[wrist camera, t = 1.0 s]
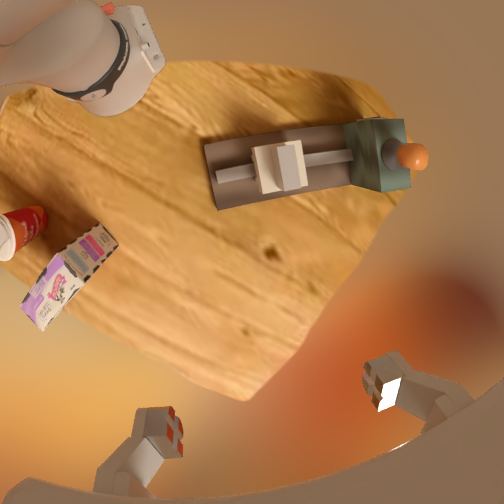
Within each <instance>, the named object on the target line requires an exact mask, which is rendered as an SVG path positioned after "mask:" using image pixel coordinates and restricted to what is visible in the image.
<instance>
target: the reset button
mask: <svg viewBox="0 0 504 504" xmlns="http://www.w3.org/2000/svg"><path fill="white" fill-rule="evenodd" d="M428 159H429V157H428V152H427V149H426V148H425V147H424V146H423V145H422V144H416V143H403V144H401V145H400V146H399V147H398V150H397V160H398V162H399V164H400V165H401V166H402V167H404V168H408V169H415V170H423V169H424V168H425V167H426V166H427V164H428Z"/></svg>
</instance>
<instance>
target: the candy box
mask: <svg viewBox="0 0 504 504" xmlns="http://www.w3.org/2000/svg"><path fill="white" fill-rule="evenodd" d="M118 246H119V244H118V243H117V242H116V241H115V240H114V239H113V238H112V237H111V235H110V234H109V233H108V232H107V231H106V229H105V228H104V227H103V226H102V225H101V224H100V223H98V224H97V225H95V226H94V227H92V228H91V229H90V230H88V231H87V232H85V233H84V234H83V235H81V236H80V237H78V238H77V239H75V240H74V241H72V242H71V243H70V244H68V245H67V246H66V247H64V248H63V249H61V250H60V251H59V252H57V253H56V254H55V256H54V257H53V258H52V259H51V261H50V262H49V263H48V265H47V266H46V268H45V269H44V270H43V272H42V273H41V275H40V276H39V277H38V279H37V280H36V282H35V283H34V285H33V286H32V288H31V289H30V291H29V292H28V294H27V295H26V297H25V298H24V300H23V302H22V303H21V305H20V308H21V309H22V310H23V311H24V312H25V313H26V315H27V316H28V317H29V318H30V319H31V320H32V321H33V322H34V323H35V324H36V325H37V326H38V327H39V328H40V329H41V330H42V331H44V330H45V329H46V327H47V326H48V325H49V324H50V323H51V321H52V320H53V319H54V318H55V317H56V316H57V315H58V314H59V312H60V311H61V310H62V309H63V308H64V307H65V306H66V304H67V303H68V302H69V301H70V300H71V299H72V298H73V296H74V295H75V294H76V293H77V292H78V291H79V290H80V289H81V287H82V286H83V285H84V284H85V283H86V282H87V281H88V279H89V278H90V277H91V276H92V275H93V274H94V273H95V271H96V270H97V269H98V268H99V267H100V266H101V265H102V263H103V262H104V261H105V260H106V259H107V258H108V257H109V256H110V255H111V254H112V252H113V251H114V250H115V249H116V248H117V247H118Z"/></svg>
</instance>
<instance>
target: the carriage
mask: <svg viewBox="0 0 504 504" xmlns="http://www.w3.org/2000/svg"><path fill="white" fill-rule="evenodd" d="M251 149H252V154H253V155H251V158H252V161H253V162H254V165H255V170H256V175H257V177H255V179H256V183H257V184H258V186H259V191H260V192H261V193H262V194H266V193H271V192H277V191H282V190H283V191H289V190H294V189H299V188H301V187H303V186H308V181H307V175H306V168H305V162H304V156H303V150H302V144H301V140H296V141H289V142H283V143H276V144H270V145H264V146H258V147H253V148H251Z"/></svg>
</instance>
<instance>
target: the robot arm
mask: <svg viewBox="0 0 504 504" xmlns="http://www.w3.org/2000/svg"><path fill="white" fill-rule="evenodd" d="M155 56H158V58H157V59H154V57H155ZM165 64H166V60H165V58H164V55H163V53H162V51H161V48H160V46H159V43H158V41H157V39H156V36H155V34H154V32H153V29H152V27H151V25H150V22H149V20H148V17H147V15H146V13H145V10H144V9H143V8H142V6H137V5H129V6H113V4H112V3H108V4H106V5H105V6H101V7H100V6H99V5H98V4H97V3H95V2H94V1H92V0H0V87H1V86H7V85H12V84H21V83H33V84H38V85H42V86H46V87H49V88H51V89H52V90H54V91H55V92H56V93H58V94H60V95H63V96H65V97H66V98H67V99H68V100H69V101H71V102H75V103H79V104H80V105H82V106H83V107H84V108H85V109H86V110H87V111H89V112H90V113H92V114H95V115H98V116H113V115H117V114H120V113H122V112H124V111H126V110H128V109H129V108H131V107H132V106H134V105H135V104H136V103H137V102H138V101H139V100H140V99H141V98H142V97H143V95H144V94H145V93H146V91H147V89H148V88H149V85H150V83H151V81H152V79H153V78H154V76H155V75H156V74H157V73H159V72H160V71H161V70H162V69H163V67H164V66H165ZM363 368H364V370H365V373H364V374H363V376H362V382H363V387H364V389H365V391H366V393H367V394H368V395H370V396H372V403H373V404H374V406H375V408H376V409H377V410H378V411H380V410H383V409H385V408H388V407H390V406H393V405H395V406H397V407H399V408H401V409H403V410H404V411H406V412H408V413H410V414H412V415H414V416H416V417H418V418H420V419H422V420H424V421H426V422H425V424H424V426H423V428H422V431H421V435H419V436H418V437H416V438H414V439H412V440H410V441H408V442H406V443H404V444H402V445H401V446H398V447H396V448H394V449H392V450H390V451H387V452H385V453H383V454H381V455H378V456H376V457H374V458H371V459H369V460H366V461H364V462H361V463H359V464H356V465H354V466H351V467H349V468H345V469H343V470H340V471H337V472H334V473H331V474H327V475H325V476H321V477H318V478H314V479H311V480H307V481H303V482H300V483H295V484H291V485H287V486H283V487H278V488H273V489H268V490H263V491H257V492H251V493H244V494H237V495H228V496H218V497H205V498H181V499H165V498H163V499H162V498H156V497H155V495H154V494H152V493H151V492H150V491H149V490H147V489H146V486H147V485H148V484H149V482H150V481H151V479H152V478H153V476H154V475H155V473H156V472H157V470H158V469H159V467H160V466H161V464H162V463H163V461H164V459H168V458H181V457H183V444H182V443H181V441H180V440H181V439H182V438H183V427H182V423H181V421H180V419H179V418H178V417H177V416H175V410H174V409H173V407H171V406H168V407H150V408H138V409H137V411H136V414H135V419H134V425H133V430H132V435H131V437H128V439H126V440H125V441H124V442H123V443H122V444H121V445H120V446H119V447H118V448H117V449H116V451H115V452H114V453H113V454H112V455H111V456H110V457H109V458H108V459H107V460H106V461H105V462H104V463H103V464H102V465H101V466H100V467H99V468H98V469H97V473H96V477H95V482H94V488H93V492H91V491H85V490H80V489H75V488H71V487H66V486H62V485H58V484H54V483H50V482H47V481H43V480H40V479H37V478H33V477H28V478H26V479H24V480H23V481H21V482H20V483H18V484H17V485H16V486H15V487H13V488H12V489H11V490H10V491H9V492H8V493H7V495H6V496H5V498H4V500H3V503H2V504H504V378H503V379H501V380H500V381H499V382H498V383H497V384H495V385H494V386H493V387H492V388H490V389H489V390H488V391H487V392H485V393H484V394H483V395H482V396H480V397H479V398H477V399H476V400H474V399H473V397H472V396H471V395H470V394H469V393H468V392H467V391H466V390H465V388H464V387H463V386H462V385H461V384H459V383H456V382H453V381H449V380H446V379H443V378H440V377H437V376H434V375H430V374H427V373H424V372H421V371H414V370H413V368H412V367H411V366H410V365H409V364H408V363H407V361H405V359H404V358H403V357H402V356H401V355H400V353H399V352H398V351H396V350H394V351H392V352H389V353H386V354H384V355H381V356H378V357H376V358H374V359H371V360H368V361H365V363H364V367H363Z"/></svg>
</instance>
